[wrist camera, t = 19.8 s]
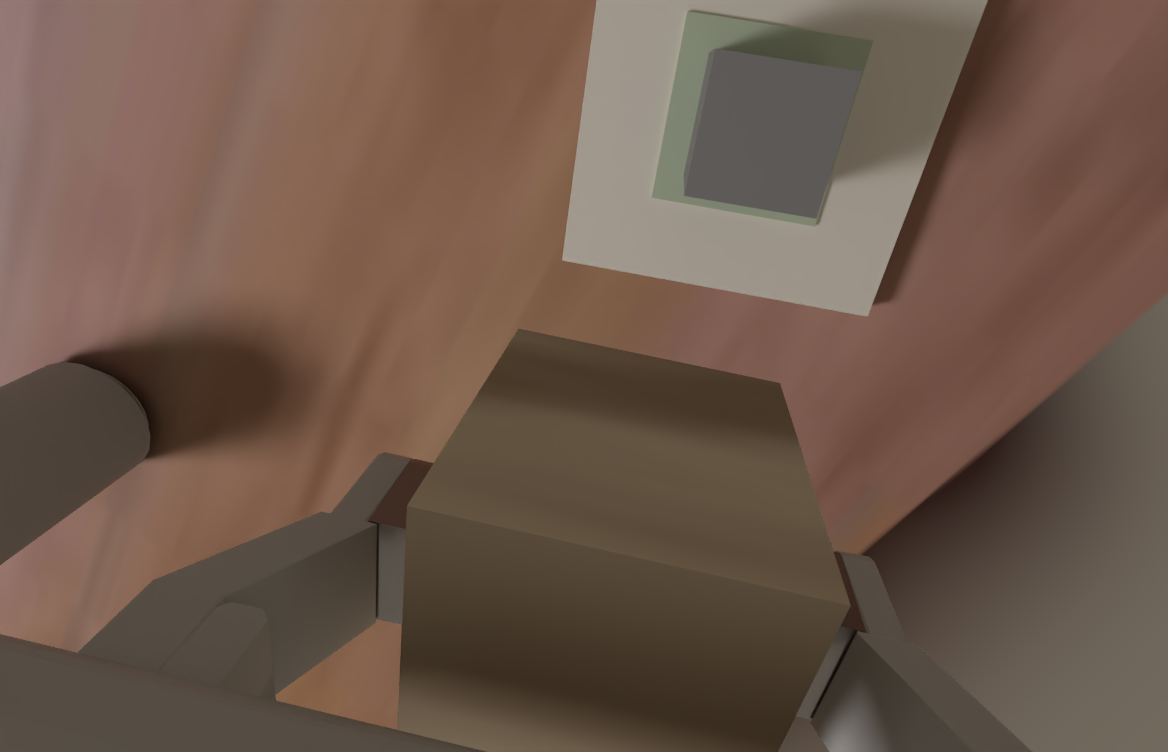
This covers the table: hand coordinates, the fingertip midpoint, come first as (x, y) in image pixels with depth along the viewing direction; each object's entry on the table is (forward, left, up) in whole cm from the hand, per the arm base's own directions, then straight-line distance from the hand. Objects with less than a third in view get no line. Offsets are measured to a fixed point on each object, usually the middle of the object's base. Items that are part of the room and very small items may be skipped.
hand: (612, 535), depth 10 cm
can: (+17, -31, -21) cm, 41 cm away
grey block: (-5, +3, -20) cm, 21 cm away
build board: (-5, +3, -21) cm, 22 cm away
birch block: (0, 0, -2) cm, 2 cm away
